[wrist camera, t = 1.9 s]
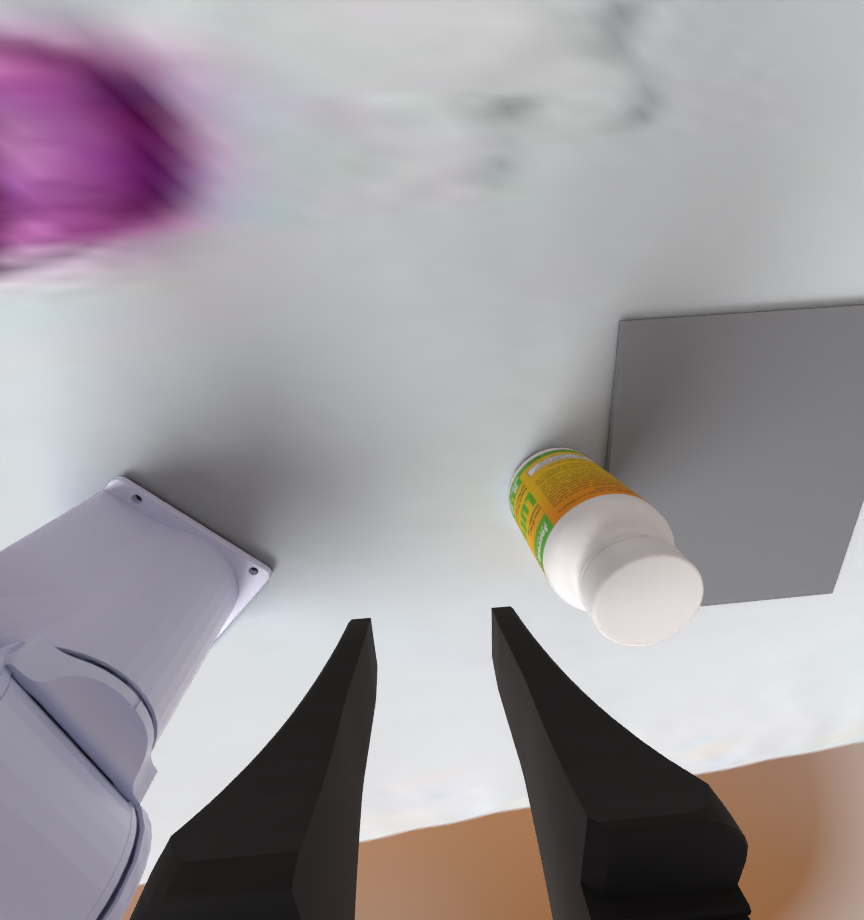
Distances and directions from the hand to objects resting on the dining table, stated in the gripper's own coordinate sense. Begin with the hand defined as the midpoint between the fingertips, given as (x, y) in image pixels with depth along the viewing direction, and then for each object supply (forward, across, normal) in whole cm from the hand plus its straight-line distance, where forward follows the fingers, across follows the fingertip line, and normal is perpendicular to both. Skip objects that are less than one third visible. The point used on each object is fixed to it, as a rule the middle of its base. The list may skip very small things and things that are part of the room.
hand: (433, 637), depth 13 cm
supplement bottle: (+11, -7, 0) cm, 13 cm away
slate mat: (+11, -18, 0) cm, 21 cm away
